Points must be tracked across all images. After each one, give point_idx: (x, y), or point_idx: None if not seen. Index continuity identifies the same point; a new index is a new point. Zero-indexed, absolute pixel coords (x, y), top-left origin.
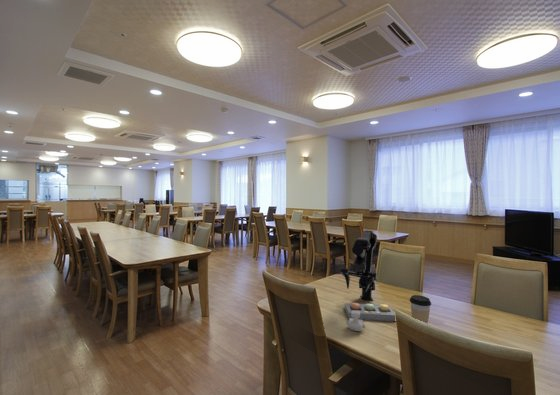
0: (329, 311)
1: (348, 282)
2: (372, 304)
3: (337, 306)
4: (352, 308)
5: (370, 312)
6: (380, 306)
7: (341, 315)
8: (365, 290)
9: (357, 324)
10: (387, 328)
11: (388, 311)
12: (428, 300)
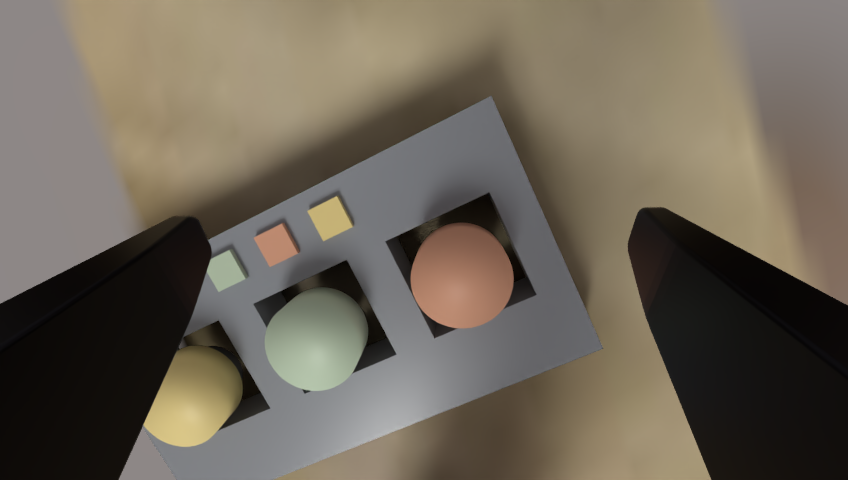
0: (715, 163)
1: (734, 353)
2: (292, 381)
3: None
4: (485, 229)
5: (292, 238)
6: (209, 377)
7: (572, 135)
8: (173, 223)
9: None
10: (133, 98)
11: None
12: None
